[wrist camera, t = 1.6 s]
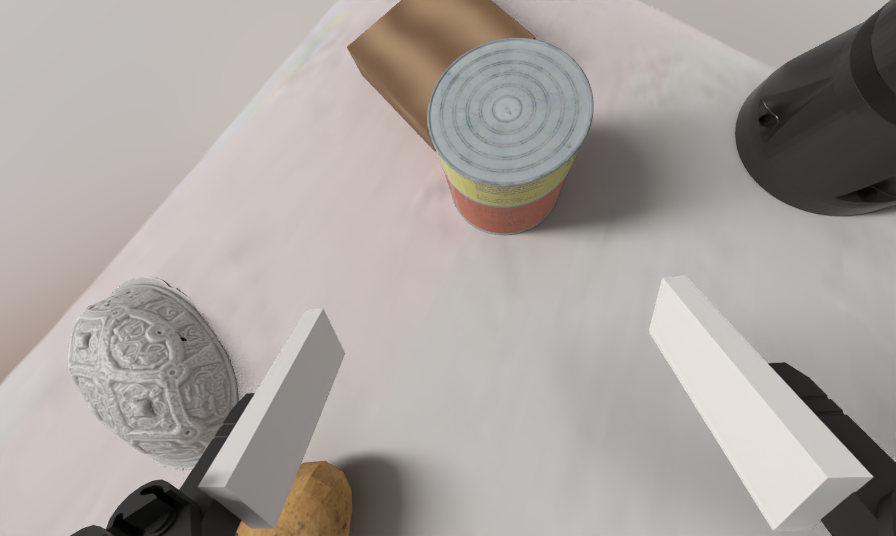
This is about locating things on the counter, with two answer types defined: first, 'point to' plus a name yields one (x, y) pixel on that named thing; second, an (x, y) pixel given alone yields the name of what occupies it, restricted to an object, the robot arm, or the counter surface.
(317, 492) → the potato
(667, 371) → the counter surface
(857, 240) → the counter surface
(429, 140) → the walnut base
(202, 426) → the silver oval dome
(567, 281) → the counter surface
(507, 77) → the canned food
